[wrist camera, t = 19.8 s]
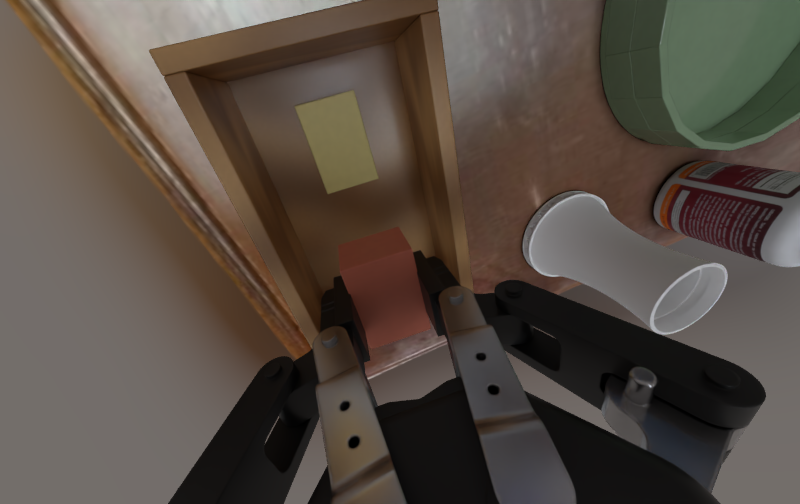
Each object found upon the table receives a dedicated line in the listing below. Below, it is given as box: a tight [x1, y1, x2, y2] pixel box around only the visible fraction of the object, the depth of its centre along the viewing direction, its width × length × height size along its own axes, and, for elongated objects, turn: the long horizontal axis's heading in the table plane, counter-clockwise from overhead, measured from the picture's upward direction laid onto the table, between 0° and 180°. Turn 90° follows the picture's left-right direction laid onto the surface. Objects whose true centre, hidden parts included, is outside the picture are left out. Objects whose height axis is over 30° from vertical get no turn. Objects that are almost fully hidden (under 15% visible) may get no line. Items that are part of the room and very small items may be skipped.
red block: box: [338, 227, 431, 349], centre depth 13 cm, size 4×3×2 cm, turn 13°
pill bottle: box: [654, 161, 800, 267], centre depth 21 cm, size 6×6×11 cm
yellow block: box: [294, 90, 379, 194], centre depth 16 cm, size 4×3×2 cm, turn 14°
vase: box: [523, 191, 727, 335], centre depth 20 cm, size 8×8×10 cm
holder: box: [149, 0, 474, 349], centre depth 16 cm, size 16×11×6 cm
